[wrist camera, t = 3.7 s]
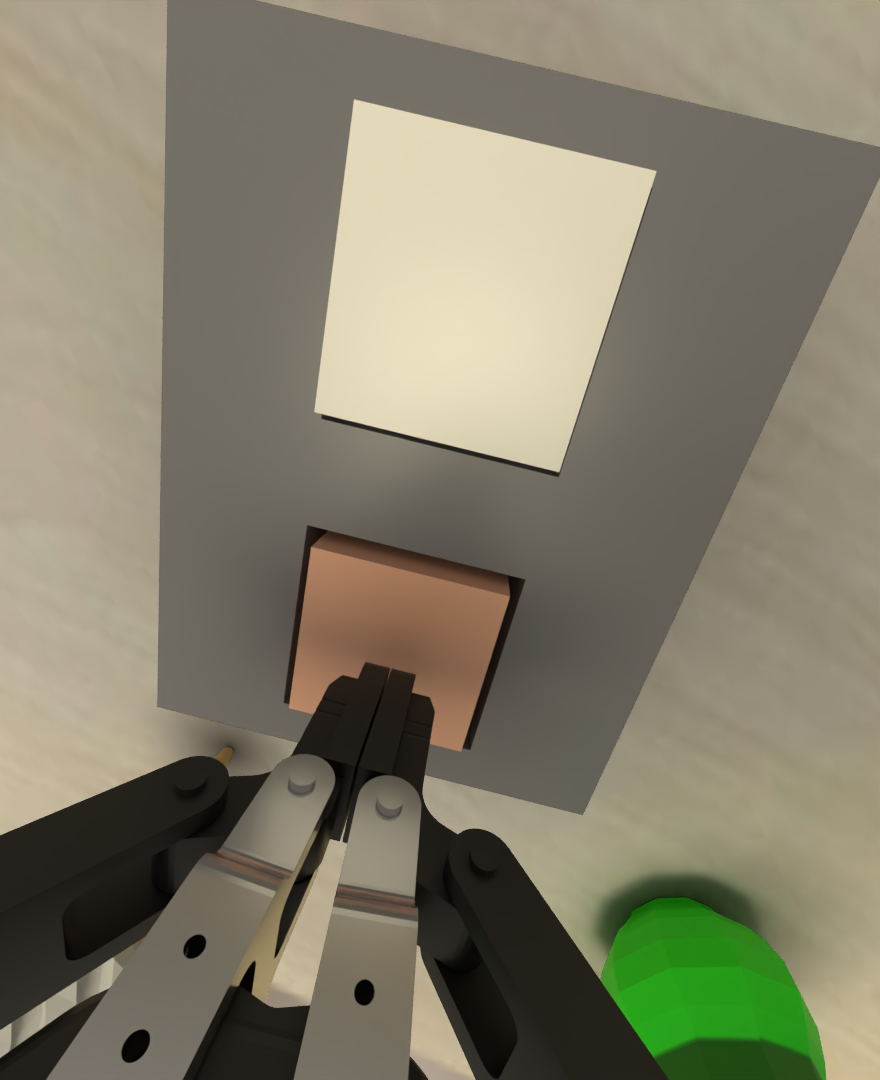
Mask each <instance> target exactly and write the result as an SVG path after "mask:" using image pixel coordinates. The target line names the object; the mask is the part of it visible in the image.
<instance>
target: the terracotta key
mask: <svg viewBox="0 0 880 1080" xmlns="http://www.w3.org/2000/svg"><path fill="white" fill-rule="evenodd" d="M509 599H510V591H509V582H508V575H506V574H502V573H498V572H494V571H490V570H486V569H482V568H477V567H473V566H469V565H465V564H461V563H457V562H453V561H449V560H445V559H441V558H437V557H433V556H429V555H425V554H421V553H417V552H413V551H409V550H405V549H401V548H397V547H393V546H389V545H385V544H381V543H377V542H373V541H369V540H365V539H361V538H357V537H353V536H349V535H345V534H341V533H337V532H333V531H329V530H328V531H327V532H326V533H325V534H324V535H323V536H322V537H321V538H320V539H319V540H318V541H317V542H316V543H315V544H314V545H313V546H312V547H311V552H310V559H309V567H308V574H307V581H306V588H305V595H304V602H303V610H302V617H301V624H300V631H299V638H298V646H297V653H296V660H295V667H294V674H293V682H292V689H291V696H290V703H289V708H290V709H294V710H298V711H302V712H306V713H310V714H314V712H315V711H316V708H317V707H318V705H319V703H320V701H321V700H322V697H323V695H324V693H325V691H326V690H327V688H328V686H329V684H331V683H332V682H333V681H335V680H336V679H337V678H339V677H340V676H342V675H345V676H349V677H353V678H356V679H358V677H359V675H360V672H361V670H362V668H363V666H364V664H365V662H369V663H373V664H377V665H381V666H385V667H389V668H390V672H391V670H392V668H393V669H397V670H401V671H405V672H409V673H413V674H416V678H415V682H414V686H413V690H412V693H416V694H420V695H424V696H427V697H430V699H431V702H432V705H433V707H434V710H435V715H434V721H433V727H432V733H431V739H430V744H432V745H436V746H440V747H444V748H448V749H452V750H456V751H460V752H461V751H462V747H463V744H464V741H465V738H466V735H467V732H468V728H469V725H470V722H471V719H472V716H473V713H474V709H475V706H476V703H477V700H478V697H479V694H480V690H481V687H482V684H483V681H484V678H485V675H486V671H487V668H488V665H489V662H490V659H491V656H492V652H493V649H494V646H495V643H496V640H497V637H498V633H499V630H500V627H501V624H502V621H503V618H504V614H505V611H506V608H507V605H508V602H509ZM390 672H389V675H390ZM388 678H389V677H388Z"/></svg>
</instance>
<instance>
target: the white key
mask: <svg viewBox="0 0 880 1080" xmlns="http://www.w3.org/2000/svg"><path fill="white" fill-rule="evenodd" d="M656 172H657V171H654V170H650V169H646V168H641V167H637V166H633V165H629V164H625V163H620V162H616V161H612V160H608V159H604V158H599V157H595V156H591V155H587V154H582V153H578V152H574V151H570V150H566V149H561V148H557V147H553V146H549V145H545V144H540V143H536V142H532V141H528V140H523V139H519V138H515V137H511V136H507V135H502V134H498V133H494V132H490V131H486V130H481V129H477V128H473V127H469V126H464V125H460V124H456V123H452V122H448V121H443V120H439V119H435V118H431V117H427V116H422V115H418V114H414V113H410V112H405V111H401V110H397V109H393V108H389V107H384V106H380V105H376V104H372V103H367V102H363V101H359V100H355V99H354V104H353V111H352V119H351V127H350V135H349V143H348V151H347V159H346V166H345V174H344V182H343V190H342V198H341V206H340V214H339V221H338V229H337V237H336V245H335V253H334V261H333V268H332V276H331V284H330V292H329V300H328V308H327V316H326V323H325V331H324V339H323V347H322V355H321V363H320V371H319V378H318V386H317V394H316V402H315V410H314V412H316V413H320V414H324V415H328V416H332V417H336V418H340V419H344V420H348V421H352V422H357V423H361V424H365V425H369V426H373V427H377V428H381V429H385V430H389V431H393V432H397V433H401V434H405V435H409V436H414V437H418V438H422V439H426V440H430V441H434V442H438V443H442V444H446V445H450V446H454V447H458V448H462V449H466V450H470V451H475V452H479V453H483V454H487V455H491V456H495V457H499V458H503V459H507V460H511V461H515V462H519V463H523V464H527V465H532V466H536V467H540V468H544V469H548V470H552V471H556V472H560V468H561V465H562V462H563V459H564V456H565V453H566V450H567V447H568V444H569V441H570V437H571V434H572V431H573V428H574V425H575V422H576V419H577V416H578V413H579V410H580V407H581V403H582V400H583V397H584V394H585V391H586V388H587V385H588V382H589V379H590V376H591V373H592V369H593V366H594V363H595V360H596V357H597V354H598V351H599V348H600V345H601V342H602V339H603V335H604V332H605V329H606V326H607V323H608V320H609V317H610V314H611V311H612V308H613V305H614V301H615V298H616V295H617V292H618V289H619V286H620V283H621V280H622V277H623V274H624V271H625V267H626V264H627V261H628V258H629V255H630V252H631V249H632V246H633V243H634V240H635V237H636V233H637V230H638V227H639V224H640V221H641V218H642V215H643V212H644V209H645V206H646V203H647V199H648V196H649V193H650V190H651V187H652V184H653V181H654V178H655V175H656Z"/></svg>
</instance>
